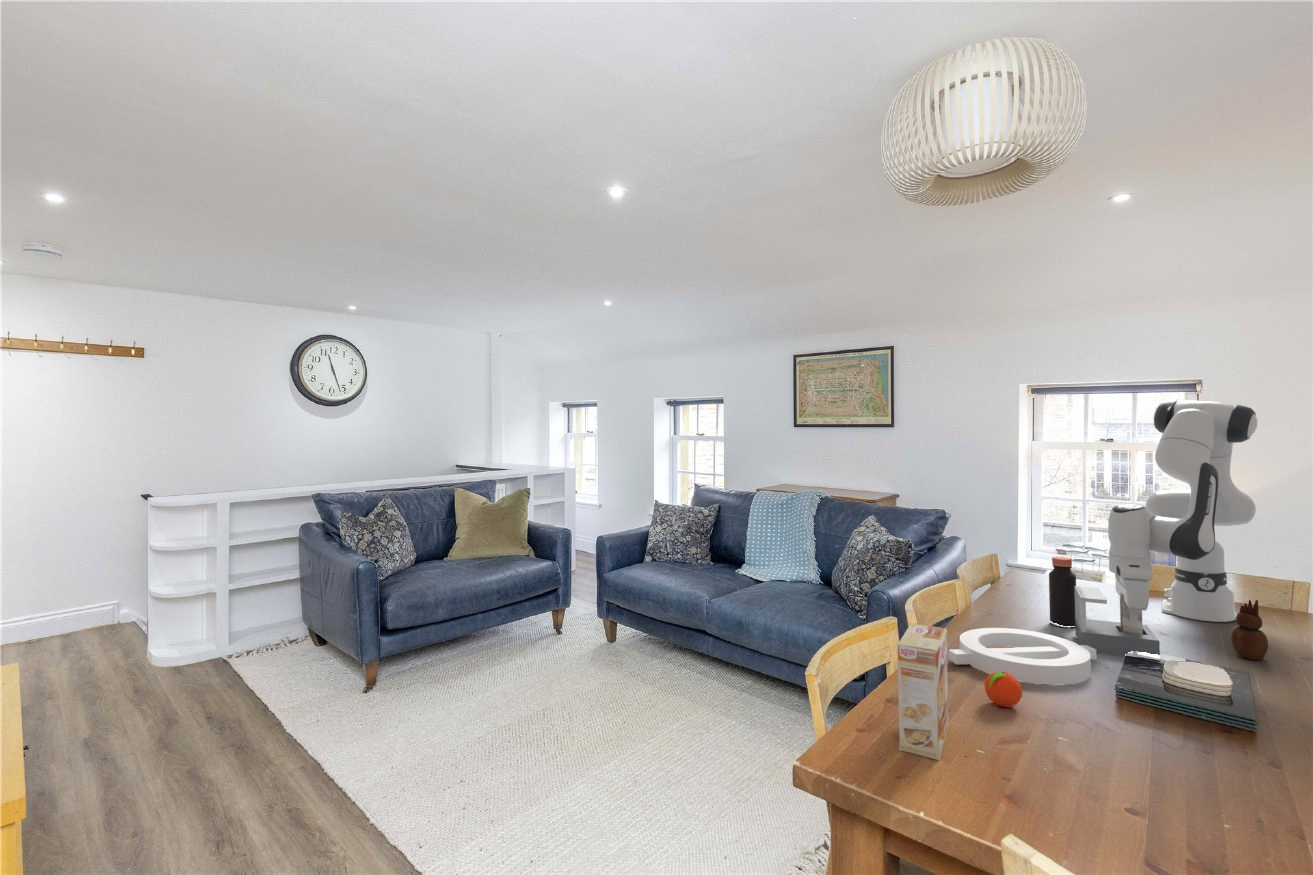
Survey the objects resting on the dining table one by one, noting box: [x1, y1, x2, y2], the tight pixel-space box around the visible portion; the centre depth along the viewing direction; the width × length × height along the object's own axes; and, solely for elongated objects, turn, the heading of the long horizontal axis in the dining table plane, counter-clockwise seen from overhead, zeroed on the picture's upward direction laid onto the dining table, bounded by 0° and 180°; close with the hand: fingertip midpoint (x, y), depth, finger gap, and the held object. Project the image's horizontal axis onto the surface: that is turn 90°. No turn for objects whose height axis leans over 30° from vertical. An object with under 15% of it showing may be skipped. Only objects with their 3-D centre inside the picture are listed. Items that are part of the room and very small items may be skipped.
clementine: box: [984, 672, 1023, 708], centre depth 128 cm, size 8×7×7 cm
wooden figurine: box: [1230, 599, 1269, 661], centre depth 152 cm, size 7×6×15 cm
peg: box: [1119, 592, 1143, 635], centre depth 159 cm, size 4×4×12 cm
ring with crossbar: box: [948, 627, 1098, 686], centre depth 152 cm, size 28×28×5 cm
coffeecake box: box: [897, 623, 949, 761], centre depth 115 cm, size 15×7×20 cm, turn 148°
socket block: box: [1074, 585, 1161, 657], centre depth 161 cm, size 14×16×14 cm
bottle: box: [1048, 556, 1077, 626], centre depth 181 cm, size 7×7×20 cm
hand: (1131, 618), depth 159 cm, fingers closed on peg, 4 cm apart
